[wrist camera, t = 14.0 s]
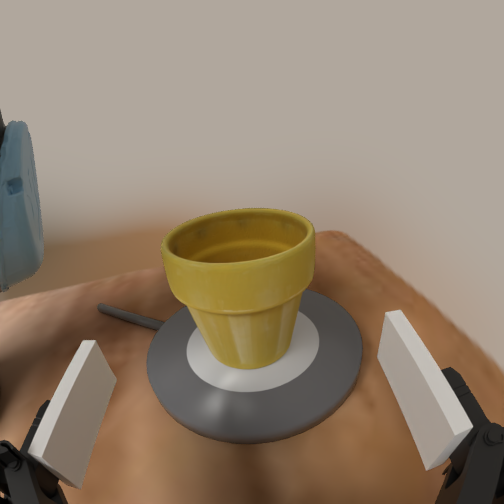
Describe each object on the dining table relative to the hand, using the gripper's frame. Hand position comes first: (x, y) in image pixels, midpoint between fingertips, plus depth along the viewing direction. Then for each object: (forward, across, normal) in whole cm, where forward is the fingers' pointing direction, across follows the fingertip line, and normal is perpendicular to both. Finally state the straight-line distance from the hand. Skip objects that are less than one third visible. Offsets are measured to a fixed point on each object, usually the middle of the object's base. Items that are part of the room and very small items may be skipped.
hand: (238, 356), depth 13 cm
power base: (+12, -5, -9) cm, 16 cm away
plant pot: (+9, 0, -8) cm, 12 cm away
